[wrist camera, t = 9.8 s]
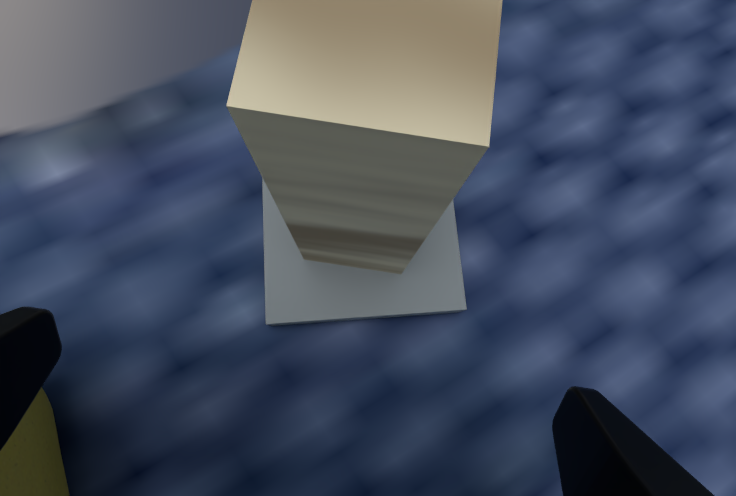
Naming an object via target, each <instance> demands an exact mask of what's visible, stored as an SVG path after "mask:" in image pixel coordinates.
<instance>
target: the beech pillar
mask: <svg viewBox="0 0 736 496" xmlns="http://www.w3.org/2000/svg"><path fill="white" fill-rule="evenodd" d="M501 9H502V0H252V5H251V9H250V12H249V17H248V21H247V25H246V29H245V33H244V37H243V41H242V45H241V49H240V53H239V57H238V61H237V65H236V69H235V73H234V77H233V81H232V85H231V89H230V94H229V98H228V102H227V108H228V110H229V112H230V114H231V116H232V118H233V120H234V122H235V124H236V126H237V128H238V130H239V132H240V134H241V136H242V138H243V140H244V142H245V144H246V146H247V148H248V150H249V152H250V154H251V156H252V158H253V160H254V162H255V164H256V166H257V168H258V170H259V172H260V174H261V175H262V177H263V179H264V181H265V183H266V185H267V187H268V189H269V191H270V193H271V195H272V197H273V199H274V201H275V203H276V205H277V207H278V209H279V211H280V213H281V215H282V217H283V219H284V221H285V223H286V225H287V227H288V229H289V231H290V233H291V235H292V237H293V239H294V241H295V243H296V245H297V247H298V249H299V251H300V253H301V255H302V257H303V259H304V260H311V261H317V262H324V263H330V264H337V265H343V266H350V267H356V268H363V269H369V270H376V271H383V272H389V273H396V274H402V272H403V271H404V269H405V268H406V267H407V265H408V264H409V262H410V261H411V259H412V258H413V256H414V255H415V254H416V252H417V251H418V249H419V248H420V246H421V245H422V243H423V242H424V240H425V239H426V238H427V236H428V235H429V233H430V232H431V230H432V229H433V227H434V226H435V224H436V223H437V222H438V220H439V219H440V217H441V216H442V214H443V213H444V211H445V210H446V208H447V207H448V206H449V204H450V203H451V201H452V200H453V198H454V197H455V195H456V194H457V192H458V191H459V190H460V188H461V187H462V185H463V184H464V182H465V181H466V179H467V178H468V177H469V175H470V174H471V172H472V171H473V169H474V168H475V166H476V165H477V163H478V162H479V161H480V159H481V158H482V156H483V155H484V153H485V152H486V150H487V149H488V147H489V142H490V131H491V120H492V109H493V98H494V87H495V76H496V65H497V54H498V42H499V31H500V20H501Z"/></svg>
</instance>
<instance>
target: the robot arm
mask: <svg viewBox="0 0 736 496" xmlns="http://www.w3.org/2000/svg"><path fill="white" fill-rule="evenodd" d="M61 350H62V345H61V341H60V337H59V334H58V330H57V327H56V323H55V319H54V316H53V314H52V313H51V312H50V311H49V310H46V309H40V308H34V307H20V308H17V309H14V310H12V311H9V312H6V313H4V314H1V315H0V451H1V449H2V448H3V447H4V445H5V444H6V442H7V441H8V440H9V438H10V437H11V435H12V433H13V432H14V430H15V429H16V427H17V426H18V424H19V423H20V421H21V419H22V418H23V416H24V415H25V413H26V411H27V410H28V408H29V407H30V405H31V403H32V402H33V400H34V399H35V397H36V395H37V394H38V392H39V391H40V389H41V387H42V386H43V384H44V382H45V381H46V379H47V378H48V376H49V374H50V373H51V371H52V370H53V368H54V366H55V365H56V363H57V362H58V360H59V357H60V355H61ZM552 430H553V437H554V443H555V449H556V455H557V461H558V467H559V473H560V479H561V485H562V492H563V496H714V495H713V494H712V493H711V492H710V491H709V490H708V489H706V488H705V487H704V486H703V485H702V484H701V483H700V482H699V481H697V480H696V479H695V478H694V477H693V476H692V475H691V474H690V473H689V472H687V471H686V470H685V469H684V468H683V467H682V466H681V465H680V464H679V463H677V462H676V461H675V460H674V459H673V458H672V457H671V456H670V455H669V454H667V453H666V452H665V451H664V450H663V449H662V448H661V447H660V446H658V445H657V444H656V443H655V442H654V441H653V440H652V439H651V438H650V437H648V436H647V435H646V434H645V433H644V432H643V431H642V430H641V429H640V428H638V427H637V426H636V425H635V424H634V423H633V422H632V421H631V420H630V419H628V418H627V417H626V416H625V415H624V414H623V413H622V412H621V411H619V410H618V409H617V408H616V407H615V406H614V405H613V404H612V403H611V402H609V401H608V400H607V399H606V398H605V397H604V396H603V395H602V394H601V393H599V392H598V391H596V390H594V389H590V388H583V387H576V386H574V387H571V388H569V389H568V390H567V392H566V394H565V396H564V398H563V400H562V402H561V404H560V406H559V408H558V410H557V412H556V414H555V416H554V419H553V425H552Z"/></svg>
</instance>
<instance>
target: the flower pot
mask: <svg viewBox="0 0 736 496" xmlns="http://www.w3.org/2000/svg"><path fill="white" fill-rule="evenodd" d="M0 496H69V490H68V485H67V480H66V475H65V470H64V466H63V461H62V456H61V451H60V446H59V441H58V435H57V430H56V425H55V419H54V414H53V409H52V407H51V404H50V402H49V400H48V397H47V395H46V393H45V392H44V390H43V388H42V387H41V389H40V391H39V392H38V394H37V395H36V397H35V399H34V400H33V402H32V403H31V405H30V407H29V408H28V410H27V411H26V413H25V415H24V416H23V418H22V419H21V421H20V423H19V424H18V426H17V427H16V429H15V430H14V432H13V433H12V435H11V437H10V438H9V440H8V441H7V442H6V444H5V445H4V447H3V448H2V449H1V451H0Z"/></svg>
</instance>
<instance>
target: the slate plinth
mask: <svg viewBox="0 0 736 496" xmlns="http://www.w3.org/2000/svg"><path fill="white" fill-rule="evenodd" d="M262 184H263V228H264V272H265V315H266V324H267V325H270V326H277V325H291V324H305V323H318V322H332V321H346V320H360V319H373V318H387V317H401V316H414V315H428V314H442V313H455V312H461V311H464V310H467V309H466V300H465V292H464V284H463V276H462V268H461V260H460V252H459V244H458V236H457V228H456V220H455V212H454V204H453V200H452V201H451V203H450V204H449V206H448V207H447V208H446V210H445V211H444V213H443V214H442V216H441V217H440V219H439V220H438V222H437V223H436V224H435V226H434V227H433V229H432V230H431V232H430V233H429V235H428V236H427V238H426V239H425V240H424V242H423V243H422V245H421V246H420V248H419V249H418V251H417V252H416V254H415V255H414V256H413V258H412V259H411V261H410V262H409V264H408V265H407V267H406V268H405V269H404V271H403V272H402V274H396V273H389V272H383V271H376V270H369V269H363V268H356V267H350V266H343V265H337V264H330V263H324V262H317V261H311V260H304V259H303V257H302V255H301V253H300V251H299V249H298V247H297V245H296V243H295V241H294V239H293V237H292V235H291V233H290V231H289V229H288V227H287V225H286V223H285V221H284V219H283V217H282V215H281V213H280V211H279V209H278V207H277V205H276V203H275V201H274V199H273V197H272V195H271V193H270V191H269V189H268V187H267V185H266V183H265V181H264V179H263V177H262Z"/></svg>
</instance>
